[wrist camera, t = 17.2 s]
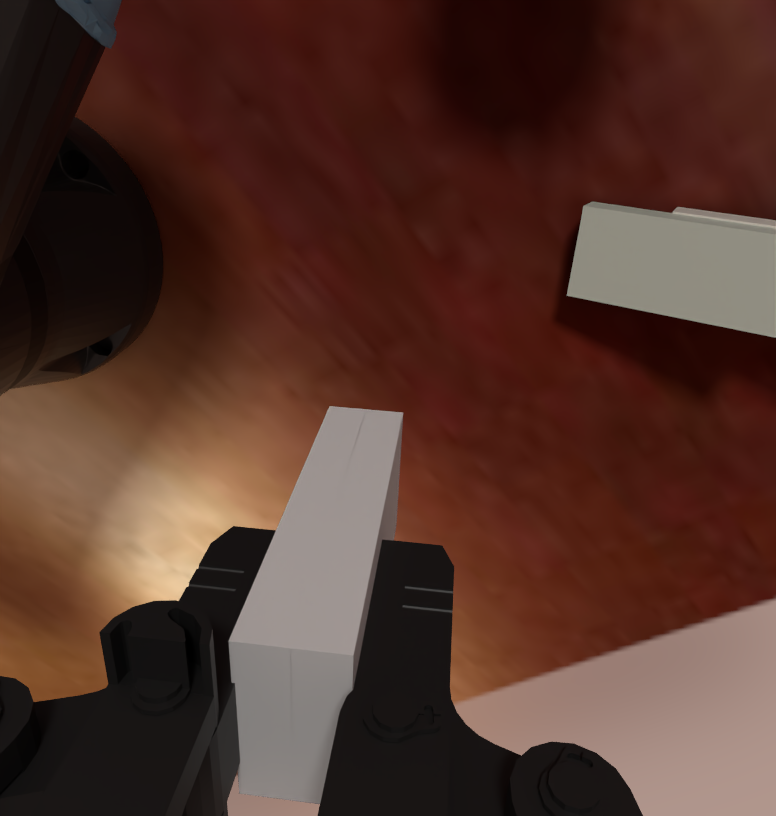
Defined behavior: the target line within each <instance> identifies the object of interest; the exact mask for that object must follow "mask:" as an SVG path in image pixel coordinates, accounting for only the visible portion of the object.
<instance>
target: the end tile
mask: <svg viewBox="0 0 776 816" xmlns="http://www.w3.org/2000/svg"><path fill="white" fill-rule="evenodd" d="M567 296H571V297H576V298H581V299H586V300H591V301H596V302H601V303H606V304H611V305H616V306H621V307H626V308H631V309H636V310H641V311H646V312H651V313H656V314H661V315H666V316H670V317H675V318H680V319H685V320H690V321H695V322H700V323H705V324H710V325H715V326H720V327H725V328H730V329H735V330H740V331H745V332H750V333H755V334H760V335H765V336H770V337H775V338H776V228H771V227H764V226H757V225H750V224H743V223H736V222H730V221H723V220H716V219H709V218H702V217H695V216H688V215H681V214H674V213H668V212H661V211H654V210H647V209H640V208H633V207H626V206H619V205H612V204H606V203H599V202H590V203H588V204H587V205H585V206H583V212H582V217H581V222H580V228H579V233H578V238H577V243H576V249H575V254H574V259H573V265H572V270H571V275H570V281H569V286H568V291H567Z"/></svg>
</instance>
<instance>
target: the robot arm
mask: <svg viewBox="0 0 776 816" xmlns="http://www.w3.org/2000/svg"><path fill="white" fill-rule="evenodd" d="M121 1H122V0H0V395H2V394H3V393H5V392H6V391H8V390H9V389H13V388H20V387H26V386H32V385H38V384H45V383H51V382H57V381H63V380H68V379H72V378H76V377H79V376H82V375H84V374H87V373H89V372H91V371H93V370H96V369H97V368H99V367H101V366H103V365H104V364H106V363H107V362H109V361H110V360H111V359H113V358H114V357H115V356H116V355H118V354H119V353H120V352H122V351H123V350H124V349H125V348H127V347H128V346H129V345H130V344H131V343H132V342H133V341H134V340H135V339H136V338H137V337H138V336H139V335H140V333H141V332H142V331H143V329H144V328H145V327H146V325H147V323H148V322H149V320H150V318H151V316H152V314H153V312H154V309H155V307H156V304H157V301H158V298H159V294H160V289H161V283H162V274H163V257H162V247H161V240H160V235H159V230H158V227H157V223H156V220H155V217H154V214H153V211H152V208H151V206H150V204H149V201H148V199H147V197H146V195H145V193H144V191H143V189H142V187H141V185H140V184H139V182H138V180H137V179H136V177H135V176H134V174H133V173H132V171H131V169H130V168H129V167H128V165H127V164H126V163H125V161H124V160H123V159H122V158H121V157H120V155H119V154H118V153H117V152H116V151H115V150H114V149H113V148H112V147H111V146H110V145H109V143H108V142H107V141H105V140H104V139H103V138H102V137H101V136H100V135H99V134H98V133H97V132H95V131H94V130H93V129H92V128H90V127H89V126H88V125H86V124H85V123H83V122H82V121H81V120H79V119H77V118H76V117H74V116H75V114H76V112H77V110H78V107H79V105H80V103H81V101H82V98H83V96H84V94H85V92H86V89H87V87H88V85H89V83H90V80H91V78H92V76H93V74H94V72H95V69H96V67H97V65H98V63H99V60H100V58H101V56H102V54H103V51H104V49H105V47H108V48H111V47H112V45H113V43H114V41H115V38H116V33H117V32H116V30H115V27H114V22H115V19H116V16H117V13H118V10H119V7H120V4H121ZM402 422H403V413H401V412H390V411H378V410H367V409H356V408H344V407H333V406H329V409H328V411H327V413H326V416H325V418H324V420H323V423H322V425H321V427H320V430H319V432H318V434H317V437H316V439H315V441H314V444H313V446H312V448H311V451H310V453H309V455H308V457H307V460H306V462H305V464H304V467H303V469H302V471H301V474H300V476H299V478H298V481H297V483H296V485H295V488H294V490H293V492H292V495H291V497H290V499H289V502H288V504H287V506H286V509H285V511H284V513H283V516H282V518H281V520H280V523H279V525H278V527H277V530H276V531H275V530H265V529H255V528H246V527H236V526H233V527H232V528H230V529H229V530H228V531H226V532H225V533H224V534H223V535H221V536H220V537H219V538H217V539H216V540H215V541H213V542H212V543H211V544H210V546H209V548H208V550H207V552H206V553H205V555H204V557H203V559H202V560H201V562H200V564H199V569H196V571H195V573H194V575H193V577H192V578H191V580H190V582H189V587H186V589H185V591H184V593H183V595H182V596H181V598H180V600H179V601H153V602H149V603H146V604H142V605H138V606H135V607H132V608H130V609H128V610H127V611H125V612H123V613H121V614H120V615H118V616H116V617H114V618H113V619H112V620H111V621H110V622H109V623H108V624H107V625H106V626H105V627H104V628H103V629H102V630H101V632H100V638H101V644H102V649H103V655H104V661H105V667H106V672H107V678H108V686H107V687H106V688H105V689H102V690H100V691H97V692H93V693H88V694H84V695H80V696H73V697H66V698H60V699H53V700H46V701H39V702H33V699H32V696H31V694H30V691H29V688H28V687H27V686H25V685H24V684H22V683H21V682H20V681H18V680H17V679H15V678H9V677H2V676H0V816H228V810H227V799H228V797H229V794H230V791H231V788H232V785H233V781H234V779H235V776H236V773H237V770H238V782H239V793H240V794H248V795H255V796H262V797H270V798H277V799H285V800H293V801H300V802H308V803H315V804H320V807H319V812H318V816H643V815H642V813H641V811H640V809H639V807H638V805H637V802H636V800H635V798H634V796H633V794H632V792H631V790H630V788H629V787H628V785H627V784H626V782H625V781H624V780H623V778H622V777H621V775H620V774H619V773H618V771H617V770H616V768H614V767H613V766H612V765H611V764H609V763H608V762H607V761H606V760H604V759H603V758H602V757H600V756H599V755H598V754H597V753H595V752H593V751H590V750H587V749H585V748H583V747H580V746H578V745H576V744H571V743H560V742H548V743H545V744H541V745H538V746H534V747H531V748H530V749H529V750H528V751H527V752H525V753H524V754H523V755H522V756H521V755H518V754H516V753H514V752H512V751H509V750H507V749H505V748H502V747H500V746H498V745H495V744H493V743H492V742H490V741H488V740H486V739H484V738H482V737H481V736H479V735H478V734H476V733H475V732H474V731H473V730H472V729H471V728H469V727H468V726H467V725H466V724H465V723H464V721H463V720H462V719H461V717H460V716H459V715H458V713H457V712H456V709H455V707H454V705H453V702H452V700H451V693H450V664H451V637H452V609H453V582H454V566H453V564H452V562H451V560H450V559H449V557H448V555H447V553H446V552H445V550H444V548H443V546H441V545H432V544H422V543H412V542H402V541H394V536H395V530H396V522H397V505H398V488H399V472H400V455H401V439H402Z"/></svg>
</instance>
